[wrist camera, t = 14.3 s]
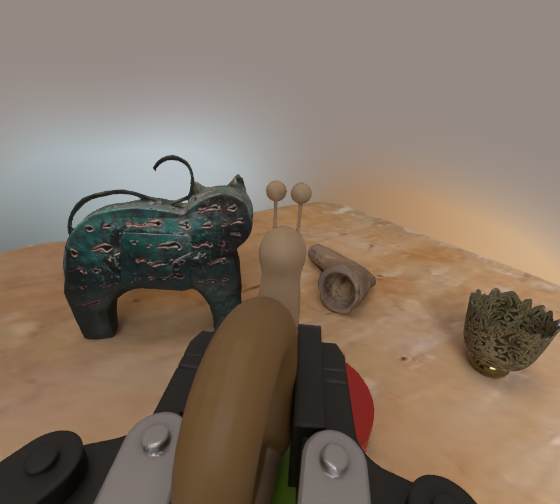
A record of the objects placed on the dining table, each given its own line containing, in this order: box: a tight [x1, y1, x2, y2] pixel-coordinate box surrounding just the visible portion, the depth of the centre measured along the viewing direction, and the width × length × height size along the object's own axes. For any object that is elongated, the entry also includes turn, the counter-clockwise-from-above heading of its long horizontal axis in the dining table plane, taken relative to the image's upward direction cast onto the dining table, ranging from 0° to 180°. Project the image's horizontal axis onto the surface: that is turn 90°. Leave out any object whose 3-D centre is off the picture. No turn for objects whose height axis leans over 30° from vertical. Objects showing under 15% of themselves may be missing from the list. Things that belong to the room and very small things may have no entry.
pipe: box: [308, 245, 376, 314], centre depth 47 cm, size 6×17×10 cm
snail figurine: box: [171, 181, 312, 504], centre depth 8 cm, size 5×6×12 cm
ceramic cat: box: [63, 155, 253, 339], centre depth 33 cm, size 20×6×20 cm, turn 100°
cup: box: [464, 288, 560, 378], centre depth 32 cm, size 7×7×8 cm
